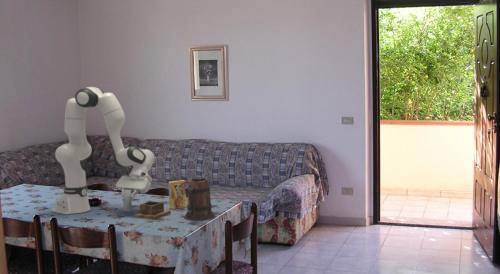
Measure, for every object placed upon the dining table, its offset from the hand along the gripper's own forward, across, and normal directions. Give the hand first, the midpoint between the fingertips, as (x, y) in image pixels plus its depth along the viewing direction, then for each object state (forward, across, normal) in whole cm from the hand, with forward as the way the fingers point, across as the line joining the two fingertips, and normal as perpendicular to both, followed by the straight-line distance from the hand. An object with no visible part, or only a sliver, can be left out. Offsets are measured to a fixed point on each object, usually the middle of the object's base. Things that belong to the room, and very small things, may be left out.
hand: (126, 197), depth 298 cm
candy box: (-11, +16, +25) cm, 31 cm away
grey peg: (+5, 0, +6) cm, 7 cm away
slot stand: (+3, +12, +11) cm, 17 cm away
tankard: (+1, +39, +13) cm, 41 cm away
